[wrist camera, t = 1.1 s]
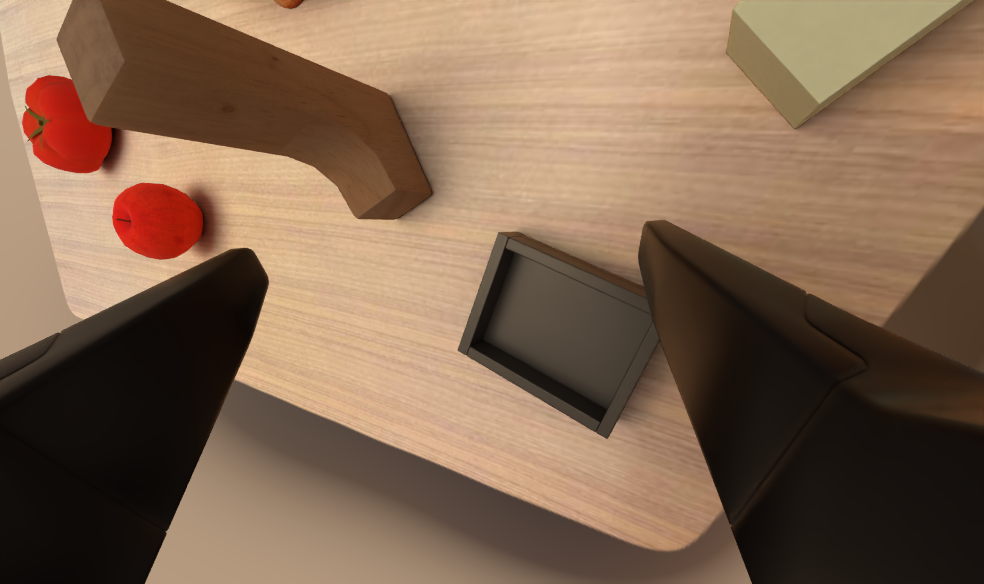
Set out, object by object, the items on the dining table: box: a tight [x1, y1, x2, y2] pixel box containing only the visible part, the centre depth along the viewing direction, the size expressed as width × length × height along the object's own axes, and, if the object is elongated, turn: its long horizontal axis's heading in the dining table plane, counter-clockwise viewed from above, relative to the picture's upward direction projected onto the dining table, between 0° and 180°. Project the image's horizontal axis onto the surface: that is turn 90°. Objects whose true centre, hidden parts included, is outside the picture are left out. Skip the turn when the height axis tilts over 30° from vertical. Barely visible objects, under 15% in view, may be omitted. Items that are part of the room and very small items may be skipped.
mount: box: [458, 232, 660, 439], centre depth 27 cm, size 12×9×3 cm
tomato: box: [22, 75, 112, 173], centre depth 50 cm, size 10×11×7 cm
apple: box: [112, 183, 203, 260], centre depth 43 cm, size 8×8×7 cm
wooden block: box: [57, 0, 431, 220], centre depth 25 cm, size 9×4×18 cm, turn 27°
